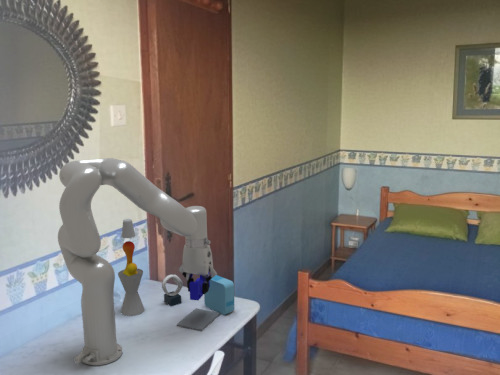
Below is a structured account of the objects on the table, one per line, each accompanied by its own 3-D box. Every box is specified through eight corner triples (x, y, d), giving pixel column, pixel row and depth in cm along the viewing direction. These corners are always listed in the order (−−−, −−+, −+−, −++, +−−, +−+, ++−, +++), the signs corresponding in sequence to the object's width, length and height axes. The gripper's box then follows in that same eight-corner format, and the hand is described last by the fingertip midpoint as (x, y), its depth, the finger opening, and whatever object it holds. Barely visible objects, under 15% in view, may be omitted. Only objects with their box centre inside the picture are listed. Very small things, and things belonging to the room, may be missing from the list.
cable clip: (198, 285, 184) (197, 270, 182) (209, 286, 182) (209, 271, 181) (185, 299, 172) (185, 282, 171) (198, 300, 171) (197, 283, 170)
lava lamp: (115, 310, 188) (109, 219, 181) (137, 303, 193) (132, 215, 186) (127, 318, 181) (122, 224, 174) (149, 310, 187) (145, 219, 180)
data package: (234, 312, 185) (234, 281, 183) (225, 316, 182) (225, 285, 180) (213, 302, 194) (212, 273, 191) (204, 306, 190) (203, 276, 188)
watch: (185, 301, 194) (184, 275, 192) (167, 307, 190) (166, 280, 187) (178, 297, 199) (177, 270, 197) (160, 302, 194) (158, 275, 192)
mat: (201, 331, 171) (201, 329, 171) (176, 326, 175) (176, 324, 175) (220, 314, 184) (220, 312, 184) (195, 309, 188) (195, 308, 187)
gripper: (223, 241, 174) (224, 291, 177) (180, 236, 180) (182, 284, 184) (213, 248, 167) (215, 299, 171) (169, 242, 173) (171, 291, 177)
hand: (198, 290), depth 177 cm, fingers closed on cable clip, 5 cm apart
